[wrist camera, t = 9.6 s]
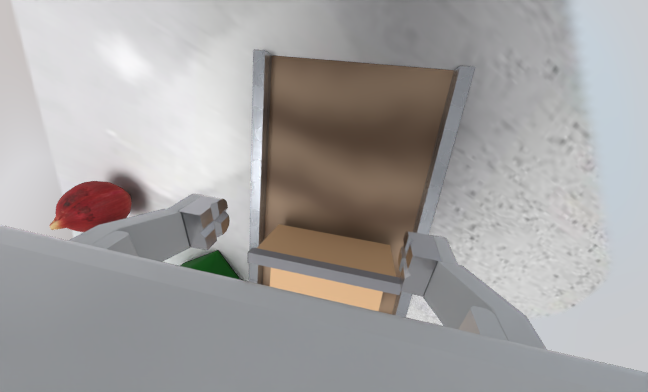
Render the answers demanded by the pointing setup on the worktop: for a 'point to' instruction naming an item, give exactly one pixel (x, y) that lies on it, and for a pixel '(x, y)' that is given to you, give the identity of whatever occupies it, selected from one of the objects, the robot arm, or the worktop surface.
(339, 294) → the cart
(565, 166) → the worktop surface
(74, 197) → the onion
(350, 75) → the dock
